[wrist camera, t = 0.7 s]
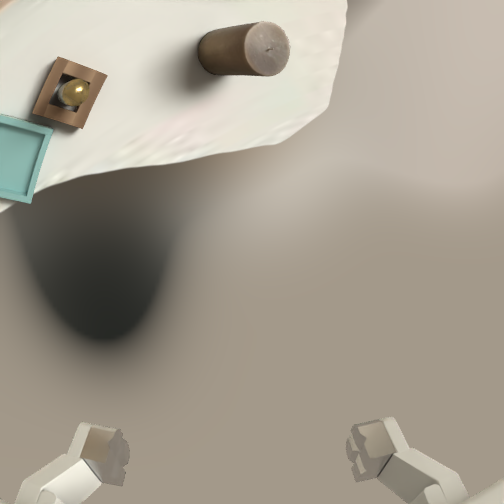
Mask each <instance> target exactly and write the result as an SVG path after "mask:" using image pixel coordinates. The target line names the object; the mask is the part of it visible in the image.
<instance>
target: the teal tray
mask: <svg viewBox="0 0 504 504" xmlns="http://www.w3.org/2000/svg"><path fill="white" fill-rule="evenodd" d="M52 133H53V128H50V127H47V126H43V125H40V124H37V123H33V122H30V121H26V120H22V119H19V118H15V117H12V116H8V115H4V114H0V197H2V198H6V199H11V200H16V201H20V202H25V203H29V204H30V203H31V201H32V197H33V193H34V189H35V185H36V182H37V178H38V175H39V171H40V168H41V165H42V162H43V159H44V156H45V153H46V150H47V147H48V144H49V141H50V138H51V136H52Z"/></svg>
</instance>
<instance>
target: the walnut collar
mask: <svg viewBox="0 0 504 504" xmlns="http://www.w3.org/2000/svg"><path fill="white" fill-rule="evenodd" d="M62 74H64V75H66V76H69V77H72V78H75V79H83V80H84V81H86V82H87V83H88V85H89V89H90V92H89V96H88V98H87V99H86V101H85V102H84V103H82V104H81V105H78V106H77V108H76V110H75V112H73V111H70V110H67V109H64V108H61V107H58V106H55V105H52V104H49V102H50V99H51V97H52V95H53V92H54V90H55V88H56V86H57V84H58V82H59V80H60V77H61V75H62ZM107 76H108V75H106V74H103V73H101V72H98V71H96V70H93V69H91V68H88V67H85V66H83V65H80V64H78V63H75V62H72V61H69V60H67V59H64V58H61V57H57V59H56V61H55V63H54V65H53V67H52V69H51V71H50V73H49V75H48V78H47V80H46V82H45V84H44V86H43V88H42V91H41V93H40V95H39V98H38V100H37V102H36V105H35V107H34V110H33V112H32V113H33V114H36V115H40V116H43V117H46V118H50V119H53V120H56V121H59V122H63V123H66V124H69V125H72V126H75V127H78V128H81V129H83V127H84V125H85V122H86V120H87V118H88V115H89V113H90V111H91V108H92V106H93V104H94V102H95V100H96V98H97V96H98V94H99V91H100V89H101V87H102V85H103V83H104V81H105V79H106V78H107Z"/></svg>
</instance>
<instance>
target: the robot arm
mask: <svg viewBox="0 0 504 504" xmlns="http://www.w3.org/2000/svg"><path fill="white" fill-rule="evenodd" d="M351 432H352V435H350V436H349V437H348V439H347V442H346V451H347V456H348V459H349V460H350V461H352V462H353V463H354V464H353V466H352V472H353V475H354V478H355V481H356V482H360V481H364V480H369V479H373V478H377V479H378V480H379V481H380V482H381V483H383V484H384V485H385V486H387V487H388V488H389V489H390V490H391V491H393V492H394V493H395V494H396V495H398V496H399V497H400V498H401V499H403V500H404V501H405V502H406V503H408V504H504V477H503V478H502V479H500V480H499V481H498V482H496V483H494V484H493V485H491V486H489V487H488V488H486V489H484V490H483V491H481V492H479V493H478V494H476V495H475V496H472V497H471V498H470V497H469V495H468V493H467V491H466V489H465V487H464V485H463V483H462V481H461V479H460V477H459V475H458V473H456V472H454V471H453V470H451V469H449V468H447V467H445V466H444V465H441V464H440V463H438V462H436V461H435V460H433V459H431V458H430V457H428V456H426V455H424V454H423V453H421V452H419V451H418V450H416V449H414V448H409V446H408V444H407V442H406V440H405V438H404V436H403V434H402V432H401V430H400V428H399V426H398V424H397V422H396V420H395V419H394V418H393V417H388V418H384V419H380V420H379V419H378V420H374V421H369V422H366V423H360V424H355V425H354V426H352V429H351ZM122 436H123V433H122V432H121V430H120V429H116V428H110V427H104V426H99V425H95V424H90V423H85V422H82V423H81V424H80V425H79V426H78V428H77V431H76V433H75V435H74V438H73V440H72V443H71V445H70V448H69V450H68V453H67V454H62V455H61V456H59V457H58V458H56V459H55V460H53V461H52V462H50V463H49V464H48V465H46V466H45V467H43V468H42V469H40V470H38V471H37V472H35V473H34V474H33V475H31V476H29V477H28V478H27V479H25V480H24V481H23V483H22V486H21V488H20V490H19V493H18V495H17V498H16V501H15V503H14V504H81V503H82V502H83V501H84V500H85V499H87V498H88V497H89V495H91V494H92V493H93V492H94V491H95V490H96V489H97V488H98V487H99V486H100V485H101V484H102V483H107V484H112V485H118V486H123V482H124V478H125V474H126V472H125V470H124V468H123V467H124V466H125V465H126V464H128V461H129V451H130V450H129V445H128V443H127V441H126V440H124V439H123V438H122ZM101 482H102V483H101ZM0 504H9V503H8V502H6V501H4V500H2V499H0Z"/></svg>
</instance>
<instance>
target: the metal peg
mask: <svg viewBox="0 0 504 504" xmlns="http://www.w3.org/2000/svg"><path fill="white" fill-rule="evenodd" d="M89 92H90V89H89V85H88V83H87V82H86V81H84V80H83V79H74V80H71V81H69V82H67V83H65V84H63V85H62V86H61V87H60V88H59V90H58V99H59V101H60V102H62V103H64V104H67V105H70V106H78V105H81V104H82V103H84V102H85V101H86V99H87V98H88V96H89Z"/></svg>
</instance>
